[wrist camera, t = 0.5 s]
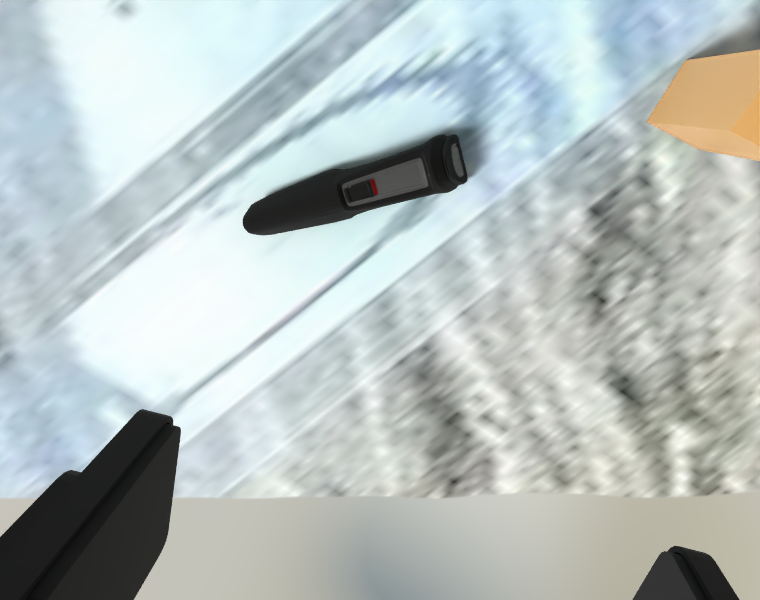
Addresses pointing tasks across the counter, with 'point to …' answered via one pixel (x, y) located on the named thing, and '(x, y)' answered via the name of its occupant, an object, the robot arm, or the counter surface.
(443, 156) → the electric trimmer
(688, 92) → the plug
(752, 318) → the counter surface
